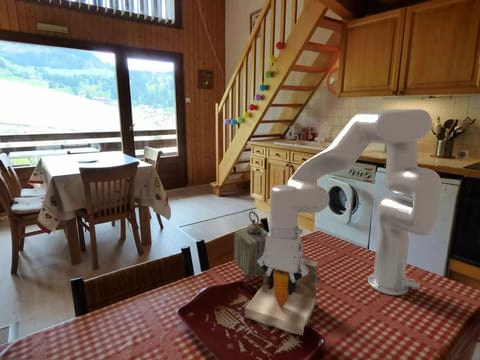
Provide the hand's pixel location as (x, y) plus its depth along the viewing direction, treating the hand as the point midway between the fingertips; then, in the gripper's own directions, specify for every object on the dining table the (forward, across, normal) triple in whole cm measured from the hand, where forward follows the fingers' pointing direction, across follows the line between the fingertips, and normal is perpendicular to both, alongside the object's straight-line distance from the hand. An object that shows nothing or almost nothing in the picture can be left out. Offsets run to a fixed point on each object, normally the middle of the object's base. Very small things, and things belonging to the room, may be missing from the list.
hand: (281, 289), depth 86 cm
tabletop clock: (+9, +16, -15) cm, 24 cm away
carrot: (+6, 0, 0) cm, 6 cm away
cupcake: (+9, +3, -27) cm, 29 cm away
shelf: (+9, +1, -2) cm, 9 cm away
